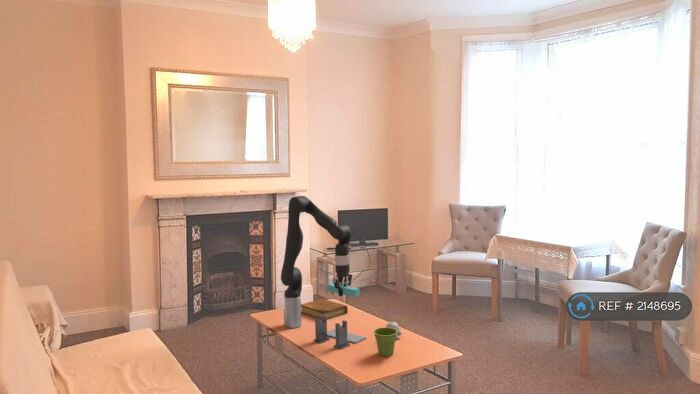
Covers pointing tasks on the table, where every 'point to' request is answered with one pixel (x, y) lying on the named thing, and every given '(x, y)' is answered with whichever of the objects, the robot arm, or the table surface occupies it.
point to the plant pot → (385, 340)
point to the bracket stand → (340, 330)
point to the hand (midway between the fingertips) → (343, 295)
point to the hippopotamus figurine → (395, 326)
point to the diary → (324, 309)
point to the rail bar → (344, 290)
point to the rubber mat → (350, 337)
